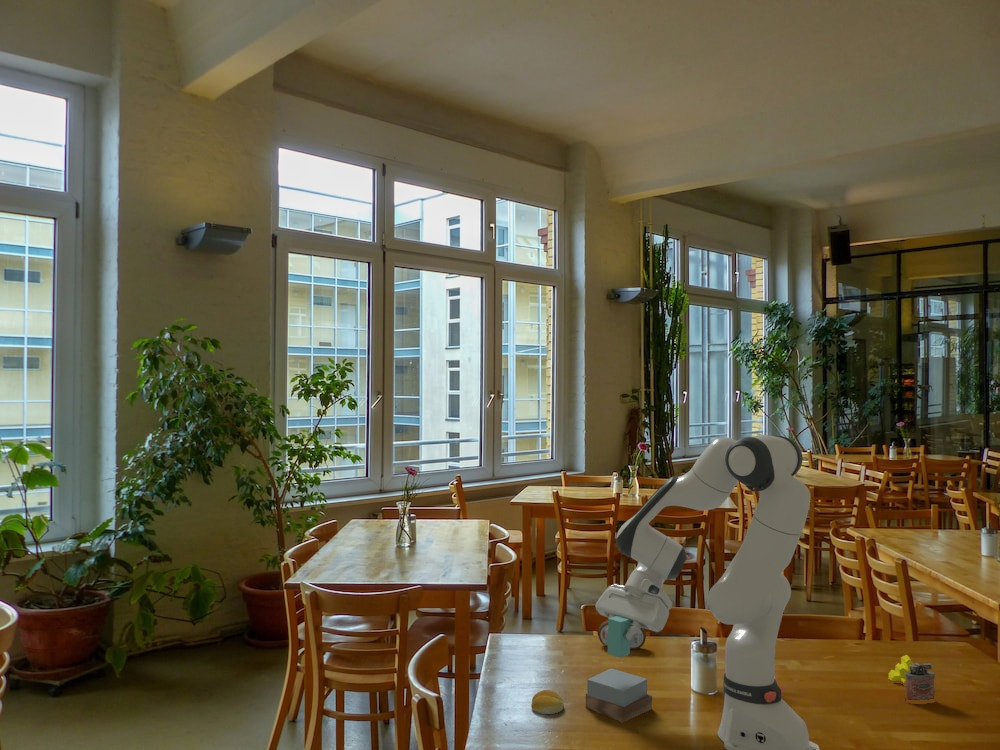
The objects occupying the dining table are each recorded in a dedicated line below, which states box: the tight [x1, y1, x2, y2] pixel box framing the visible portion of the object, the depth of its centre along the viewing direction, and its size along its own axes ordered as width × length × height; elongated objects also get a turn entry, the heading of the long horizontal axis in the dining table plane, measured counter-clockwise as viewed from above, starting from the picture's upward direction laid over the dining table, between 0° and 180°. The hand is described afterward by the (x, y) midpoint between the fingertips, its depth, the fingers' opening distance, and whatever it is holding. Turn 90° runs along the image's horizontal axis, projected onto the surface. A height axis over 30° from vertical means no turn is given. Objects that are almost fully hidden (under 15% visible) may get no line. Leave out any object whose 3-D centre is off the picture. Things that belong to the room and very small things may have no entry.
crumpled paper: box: [887, 654, 915, 683], centre depth 220 cm, size 6×8×8 cm
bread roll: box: [530, 689, 565, 715], centre depth 199 cm, size 8×9×4 cm
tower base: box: [585, 692, 653, 723], centre depth 199 cm, size 12×12×4 cm
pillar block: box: [607, 616, 631, 659], centre depth 199 cm, size 4×4×9 cm
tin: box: [597, 619, 647, 650], centre depth 246 cm, size 15×3×8 cm, turn 80°
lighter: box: [905, 662, 936, 700], centre depth 205 cm, size 8×3×10 cm, turn 99°
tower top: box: [586, 668, 648, 707], centre depth 199 cm, size 11×11×4 cm
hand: (617, 635), depth 199 cm, fingers closed on pillar block, 4 cm apart
